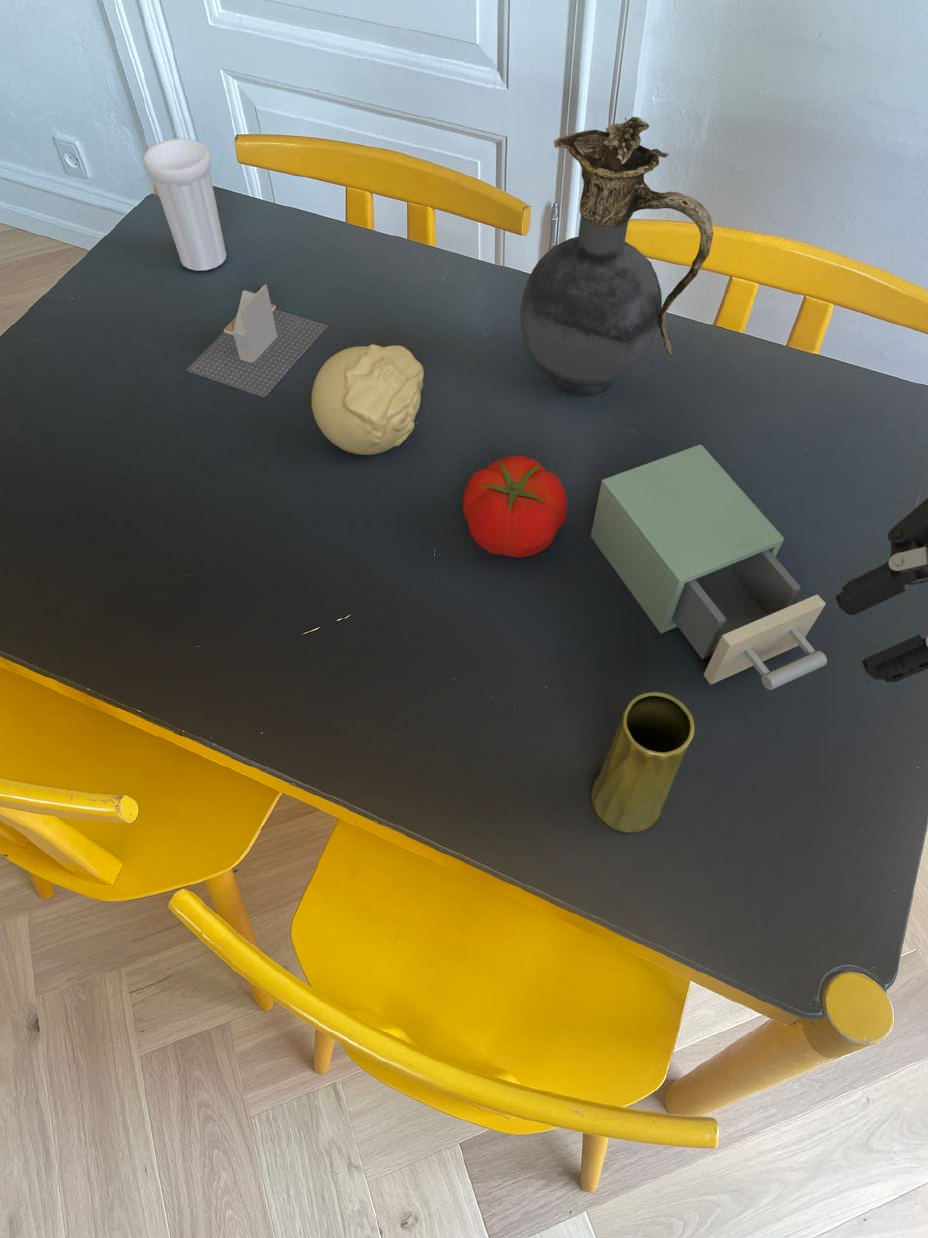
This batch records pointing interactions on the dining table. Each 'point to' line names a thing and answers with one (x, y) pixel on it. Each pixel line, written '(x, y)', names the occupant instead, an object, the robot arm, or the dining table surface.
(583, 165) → the pitcher
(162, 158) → the cup
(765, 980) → the dining table surface
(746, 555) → the cabinet
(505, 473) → the tomato
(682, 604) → the drawer
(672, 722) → the vase
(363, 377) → the sculpture
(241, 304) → the architectural model
